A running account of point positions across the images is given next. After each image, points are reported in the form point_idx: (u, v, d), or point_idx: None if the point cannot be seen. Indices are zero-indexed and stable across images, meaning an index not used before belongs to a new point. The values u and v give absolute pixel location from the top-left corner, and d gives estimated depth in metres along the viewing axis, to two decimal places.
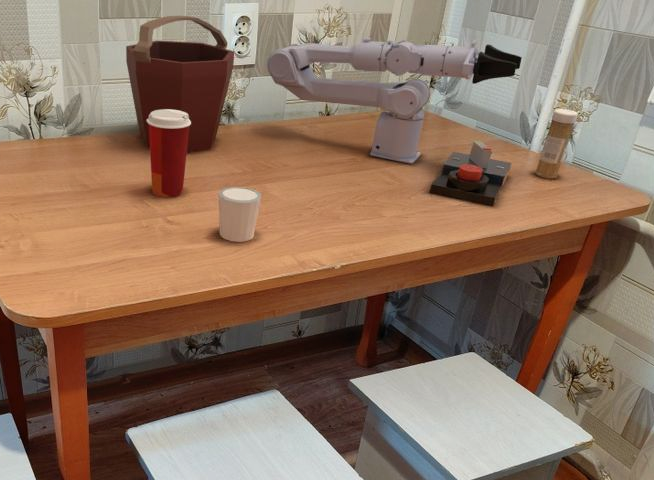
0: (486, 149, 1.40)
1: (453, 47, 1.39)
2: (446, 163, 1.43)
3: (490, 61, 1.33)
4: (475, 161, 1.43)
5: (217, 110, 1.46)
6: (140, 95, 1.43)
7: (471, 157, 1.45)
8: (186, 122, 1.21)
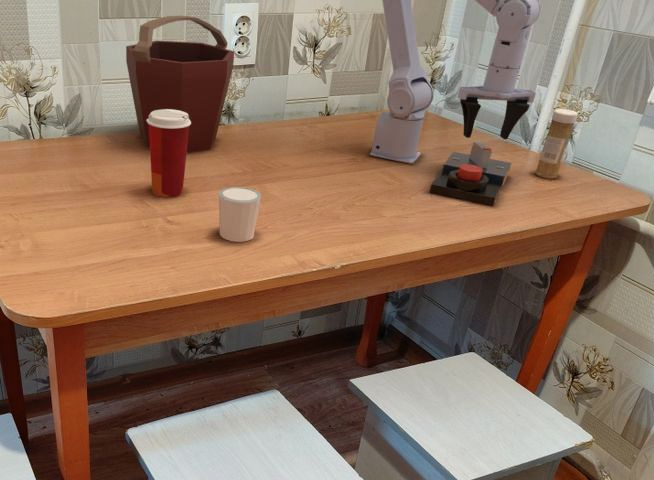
0: (486, 149, 1.40)
1: (505, 74, 1.32)
2: (446, 163, 1.43)
3: (468, 114, 1.37)
4: (475, 161, 1.43)
5: (217, 110, 1.46)
6: (140, 95, 1.43)
7: (471, 157, 1.45)
8: (186, 122, 1.21)
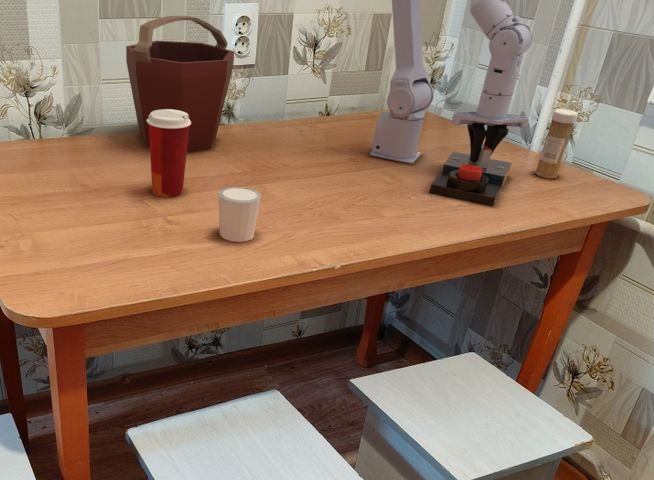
0: (486, 149, 1.40)
1: (497, 101, 1.34)
2: (446, 163, 1.43)
3: (475, 140, 1.40)
4: None
5: (217, 110, 1.46)
6: (140, 95, 1.43)
7: None
8: (186, 122, 1.21)
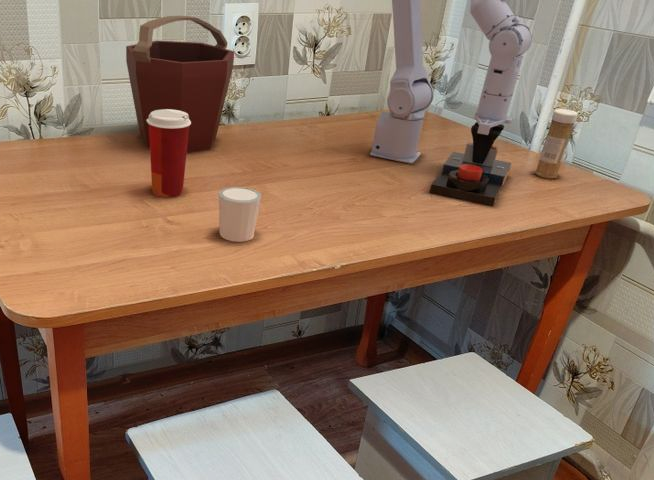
0: (496, 148, 1.41)
1: (509, 101, 1.35)
2: (446, 163, 1.43)
3: (489, 143, 1.39)
4: None
5: (217, 110, 1.46)
6: (140, 95, 1.43)
7: (468, 159, 1.44)
8: (186, 122, 1.21)
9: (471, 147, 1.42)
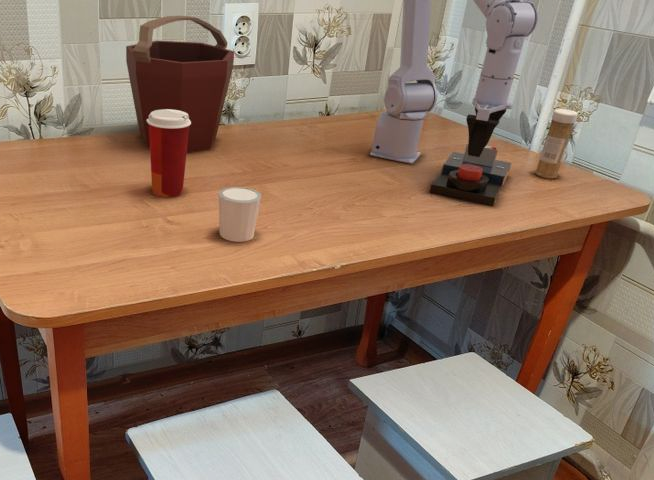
0: (496, 148, 1.41)
1: (510, 85, 1.26)
2: (446, 163, 1.43)
3: (487, 134, 1.27)
4: (479, 162, 1.43)
5: (217, 110, 1.46)
6: (140, 95, 1.43)
7: (468, 159, 1.44)
8: (186, 122, 1.21)
9: None
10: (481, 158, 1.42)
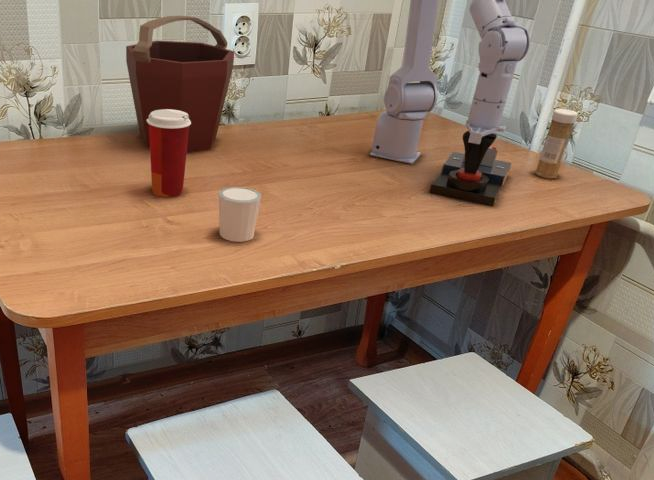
0: (496, 148, 1.41)
1: (503, 108, 1.26)
2: (446, 163, 1.43)
3: (482, 152, 1.31)
4: None
5: (217, 110, 1.46)
6: (140, 95, 1.43)
7: None
8: (186, 122, 1.21)
9: None
10: None
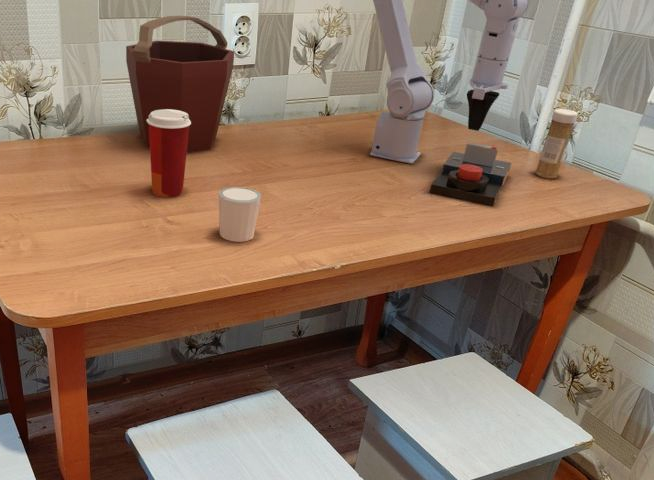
0: (496, 148, 1.41)
1: (505, 66, 1.33)
2: (446, 163, 1.43)
3: (485, 108, 1.37)
4: (479, 162, 1.43)
5: (217, 110, 1.46)
6: (140, 95, 1.43)
7: (468, 159, 1.44)
8: (186, 122, 1.21)
9: (471, 147, 1.42)
10: (481, 158, 1.42)
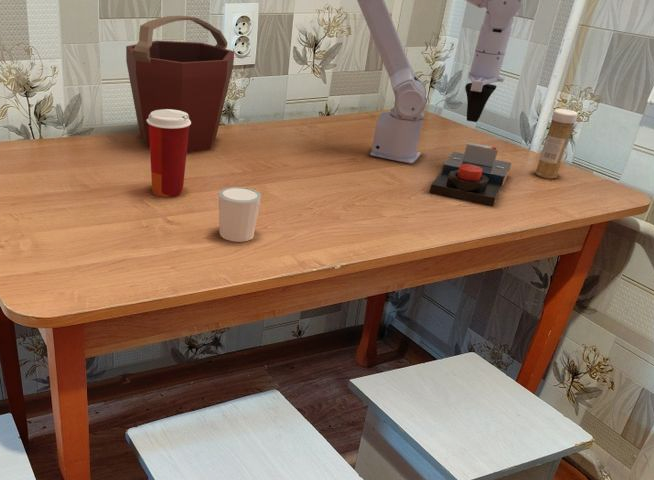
0: (496, 148, 1.41)
1: (502, 59, 1.39)
2: (446, 163, 1.43)
3: (483, 101, 1.43)
4: (479, 162, 1.43)
5: (217, 110, 1.46)
6: (140, 95, 1.43)
7: (468, 159, 1.44)
8: (186, 122, 1.21)
9: (471, 147, 1.42)
10: (481, 158, 1.42)
